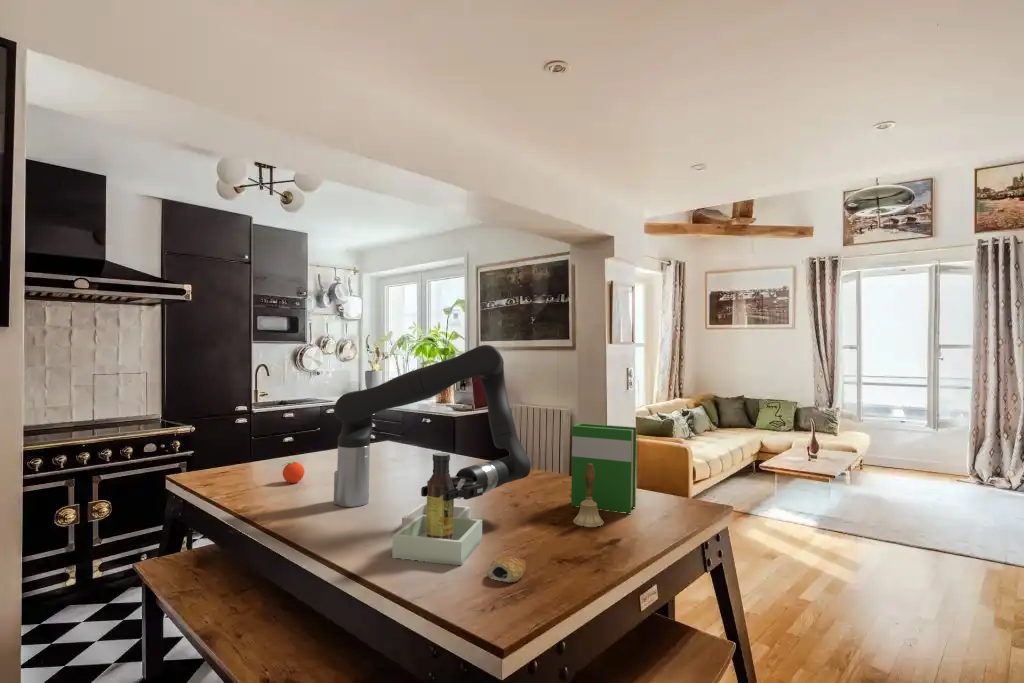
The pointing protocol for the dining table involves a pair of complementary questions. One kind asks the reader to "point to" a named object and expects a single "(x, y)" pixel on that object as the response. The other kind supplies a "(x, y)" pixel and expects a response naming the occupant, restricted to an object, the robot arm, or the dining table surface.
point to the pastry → (507, 569)
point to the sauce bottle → (439, 499)
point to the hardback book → (605, 465)
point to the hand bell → (588, 504)
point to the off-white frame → (422, 509)
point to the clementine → (293, 472)
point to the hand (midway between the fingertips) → (433, 494)
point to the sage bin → (437, 542)
